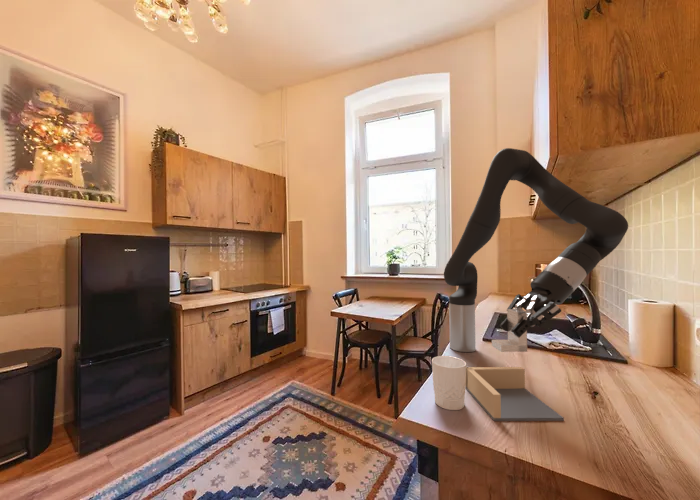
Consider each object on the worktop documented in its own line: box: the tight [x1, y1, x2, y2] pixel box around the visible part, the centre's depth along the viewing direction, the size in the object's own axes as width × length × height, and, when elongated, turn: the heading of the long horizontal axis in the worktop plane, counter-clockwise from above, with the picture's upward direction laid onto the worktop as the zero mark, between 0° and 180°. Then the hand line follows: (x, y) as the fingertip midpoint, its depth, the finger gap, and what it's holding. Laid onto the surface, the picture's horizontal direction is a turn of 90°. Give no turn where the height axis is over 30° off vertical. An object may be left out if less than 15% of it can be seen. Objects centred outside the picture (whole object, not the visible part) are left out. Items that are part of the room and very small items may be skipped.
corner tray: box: [465, 366, 565, 422], centre depth 68 cm, size 15×15×6 cm
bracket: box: [491, 308, 528, 353], centre depth 68 cm, size 4×6×9 cm
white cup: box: [431, 355, 467, 411], centre depth 68 cm, size 8×8×10 cm
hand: (508, 331), depth 68 cm, fingers closed on bracket, 4 cm apart
